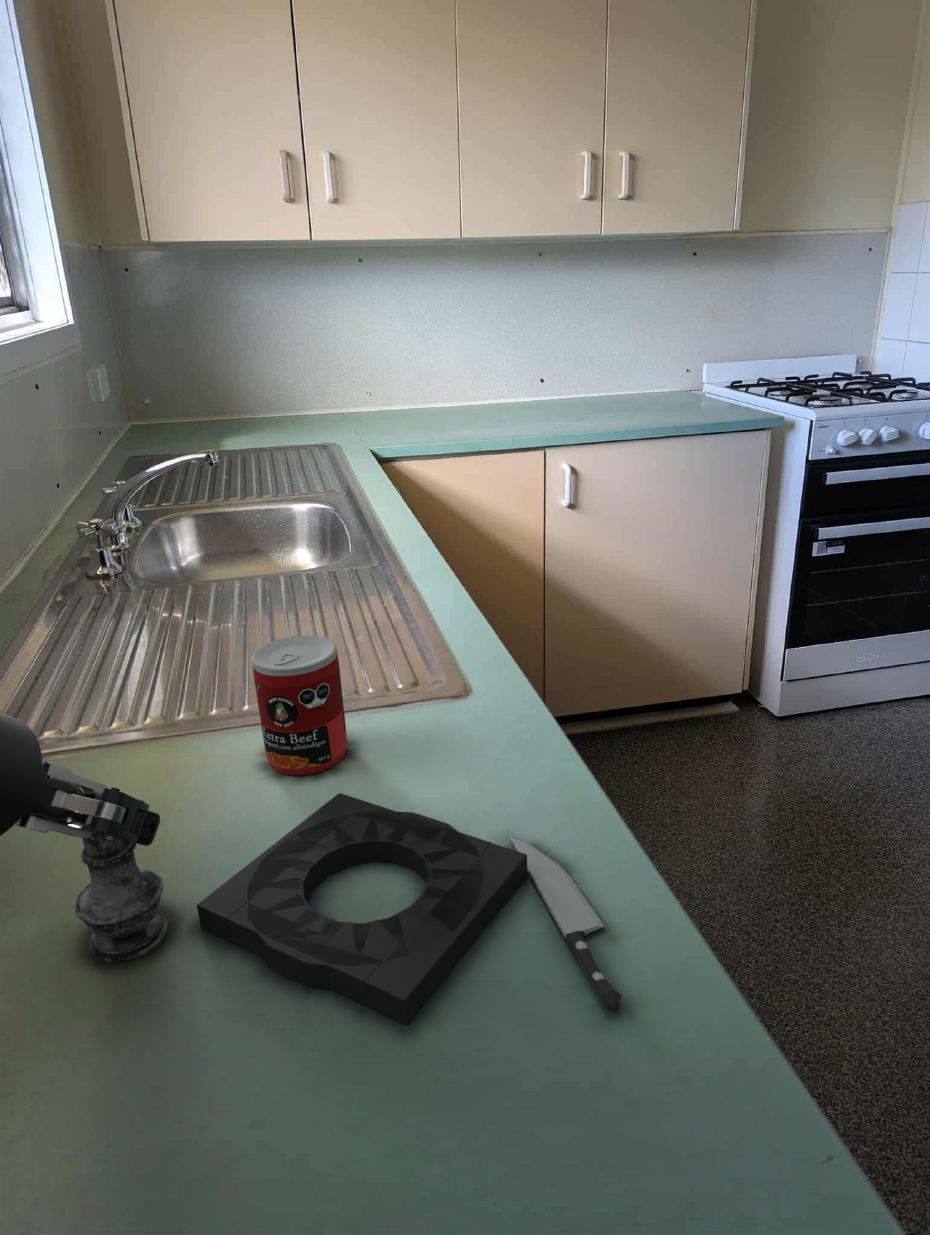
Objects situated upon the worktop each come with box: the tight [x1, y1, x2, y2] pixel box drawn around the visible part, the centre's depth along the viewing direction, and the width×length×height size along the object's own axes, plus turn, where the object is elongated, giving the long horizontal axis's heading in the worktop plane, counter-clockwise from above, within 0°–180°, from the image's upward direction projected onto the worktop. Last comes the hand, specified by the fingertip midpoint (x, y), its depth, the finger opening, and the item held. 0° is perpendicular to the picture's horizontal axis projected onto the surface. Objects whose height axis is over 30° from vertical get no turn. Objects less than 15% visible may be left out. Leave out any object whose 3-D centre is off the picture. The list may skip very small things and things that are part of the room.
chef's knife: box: [509, 836, 622, 1012], centre depth 62 cm, size 19×1×3 cm
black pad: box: [196, 792, 529, 1025], centre depth 64 cm, size 18×17×2 cm
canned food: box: [251, 634, 348, 776], centre depth 82 cm, size 8×8×11 cm
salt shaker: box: [73, 833, 169, 963], centre depth 60 cm, size 6×6×12 cm
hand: (126, 824), depth 61 cm, fingers open, 3 cm apart
